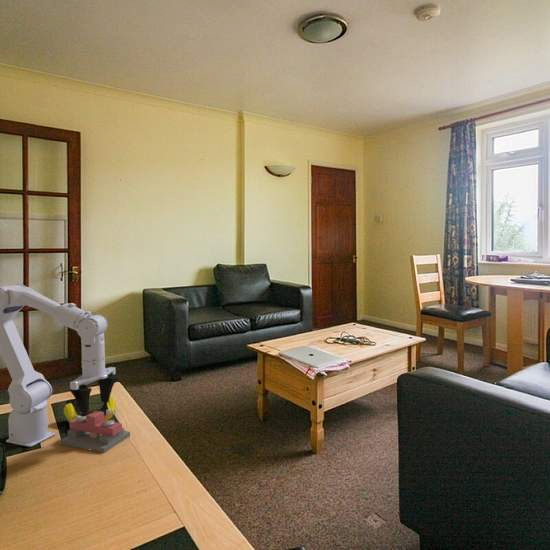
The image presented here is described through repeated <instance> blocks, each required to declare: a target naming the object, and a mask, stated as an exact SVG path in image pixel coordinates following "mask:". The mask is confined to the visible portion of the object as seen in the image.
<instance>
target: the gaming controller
mask: <svg viewBox="0 0 550 550" xmlns="http://www.w3.org/2000/svg"><path fill="white" fill-rule="evenodd" d="M94 411H101V412H104V421H107V420H112V418H113V416H115V412H116V400H115V398H114V397H113V395H110V398H109V402H107V403H106V402H103V404H102V406H101V407H100V408H97V409H94V410H93V409H91V410H88V412H87V413H82V412H80V411H78V410H77V409H76V407H75V406H74V405H73V404H72V403H70V402H69V403H67V404H65V405H64V407H63V416H64V418H65V420H66V421H67V422H68V424H70V421H72V420H74V419H76V418H78V417H82V416H86V415H88V414H90V413H92V412H94Z"/></svg>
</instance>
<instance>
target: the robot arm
mask: <svg viewBox="0 0 550 550" xmlns="http://www.w3.org/2000/svg"><path fill="white" fill-rule="evenodd" d="M25 306H28V307H31V308H33V309H35V310H39V311H41V312H44V313H46V314H49V315H52V316H53V317H54V320H55V321H56V322H57V323H58V324H61V325H63V326H65V327H67V328H69V329H72V330H73V331H76V332H77V335H78V336H79V337H80V343H81V362H82V363H81V364H82V366H81V367H82V369H81V370H82V375H80V376H78V377H77V378H76V379H73V380H72V381H70V382H69V391H70V393H71V394H72V396H73V397H74V399H75V401H76V404H77V405H78V409H79V413H87V412H88V411H90V410H89V409H90V395H91V392H92V389H93V388H91V387H87V386H88V385H89V384H92V383H94V382H96V381H97V383H98V387H99V392H100V393H99V395H100V401H101V403H104V402H106V403H107V402H109V398H110V396H111V393H112V391H113V387H114V385H115V383H116V381H117V380H118V379H117V376H116V374H117V373H116V367H114V366H109V367H106V348H105V344H106V343H105V332H106V331H107V329H108V327H109V323H108V320H107V318H106V317H105V316H104V315H102V314H101V313H94V314H92V312H91V311H89V310H84V309H81V308H79V307H77V304H76V303H73V302H71V303H68V302H67V303H63V304H60V303H58V302H57V301H54V299H53V300H52V299H51V298H50V297H49V298H48V297H47V296H44V295H43V294H42V293H40V292H37V291H36V290H34V289H33V288H32V287H28V286H26V285H24V284H20V283H18V284H14V285H3V286H0V355H1V357H2V359H3V362H4V364H5V366H6V368H7V370H8V372H9V375H10V378H11V379H12V380H11V382H10V384H9V386H8V389H7V393H8V394H9V405H10V407H11V409H12V410H11V411H10V413H9V415H8V420H7V421H8V422H7V423H8V439H6V440H5V442H6V443H10V444H14V445H19V446H24V447H29V448H31V447H33V446H36V445H38V444H39V443H41V442H44V441H45V440H47V439H49V438H51V437H54V436H55V435H56V432H54V431H48V429H49V428H48V427H49V426H48V424H49V423H48V402H49V399H50V398H51V396H52V395H53V387H52V385H51V384H50V383H49V381H47V379H45V376H44V375H43V374H42V373H40V372H38V371H36V370H35V369H34V366H33V364H32V362H31V359H30V357H29V355H28V352H27V350H26V348H25V345H24V343H23V341H22V339H21V336H20V334H19V332H18V329H17V327H16V325H15V322H14V320H15V318H16V316H17V314H18V313H19V312H20V310H22V309H23V308H24V307H25ZM86 385H87V386H86Z"/></svg>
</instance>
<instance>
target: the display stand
mask: <svg viewBox="0 0 550 550" xmlns="http://www.w3.org/2000/svg"><path fill="white" fill-rule="evenodd" d="M130 436H131V431H128V430H124V427H122V431H120V432H119V433H117V434H116V435H114V436H109V435H103V434H98V433H92V432H86V431H81V430H75V429H70V428H69V429H68V430H67V435H66V436H65V437H64V438H62V439H60V440H59V441H60V442H59V444H60V445H63V446H67V447H71V448H72V447H73V448H77V447H79V448H78V449H82V448H85V449H84V450H87V449H91V450H90V451H92V450H96V451H95V452H97V451H99V453H102V452H105V453H106V452H109V451H110V450H111V449H113V448H114V447H115V445H116V446H117V445H119V444H121V441H122V442H124V441H125V440H126V439H128V438H130ZM127 437H128V438H127ZM124 439H125V440H124ZM118 443H119V444H118ZM112 447H113V448H112ZM109 449H110V450H109Z"/></svg>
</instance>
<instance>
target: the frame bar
mask: <svg viewBox="0 0 550 550" xmlns="http://www.w3.org/2000/svg"><path fill="white" fill-rule="evenodd" d="M122 428H123V425H122V423H120V422H116V421H115V420H114V419H109V420H107V421H104V412H101V411H94V412H92V413H90V414H88V415H86V416H82V417H78V418H76V419H74V420H72V421H70V423H69V430H70V429H75V430H81V431H86V432H92V433H98V434H103V435H109V436H114V435H116V434H117V433H119V432H120V431H122Z"/></svg>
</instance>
